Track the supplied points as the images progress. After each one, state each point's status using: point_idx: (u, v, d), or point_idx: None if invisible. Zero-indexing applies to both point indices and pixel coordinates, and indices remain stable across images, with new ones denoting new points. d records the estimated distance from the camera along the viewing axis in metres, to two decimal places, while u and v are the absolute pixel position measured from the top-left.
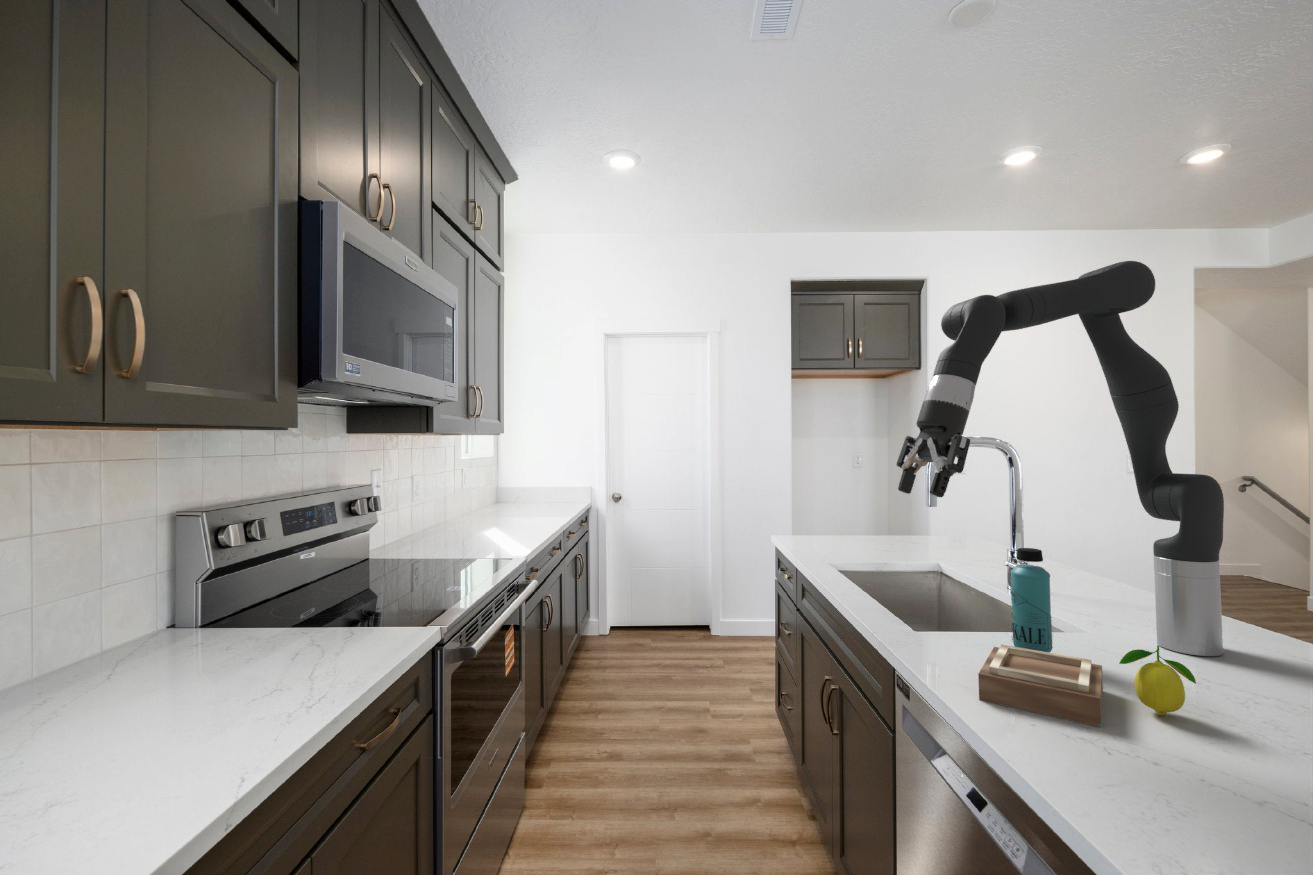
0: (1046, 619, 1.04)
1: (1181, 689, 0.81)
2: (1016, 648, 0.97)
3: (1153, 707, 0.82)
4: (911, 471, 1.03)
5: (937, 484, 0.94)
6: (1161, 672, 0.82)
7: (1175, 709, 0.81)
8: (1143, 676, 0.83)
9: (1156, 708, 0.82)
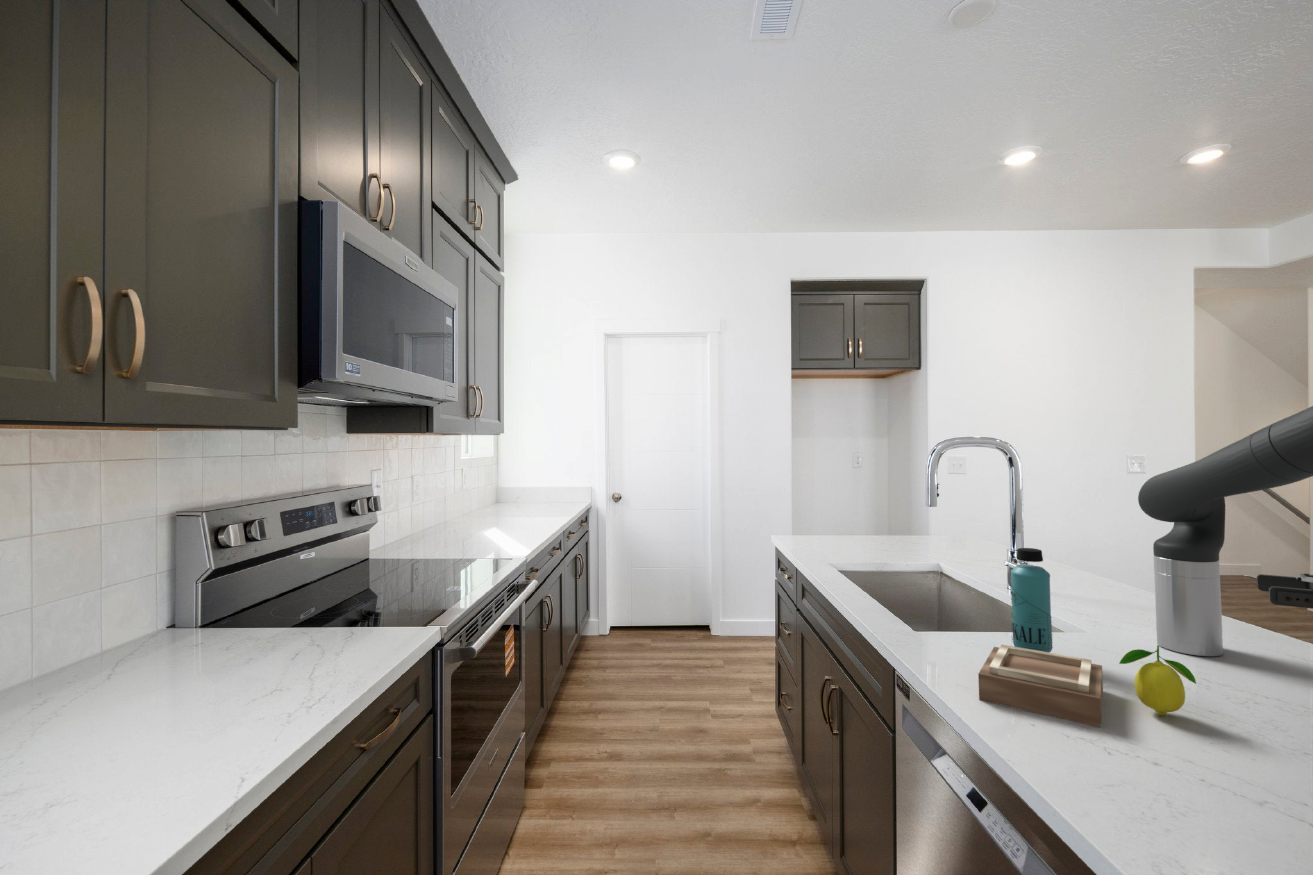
0: (1046, 619, 1.04)
1: (1181, 689, 0.81)
2: (1016, 648, 0.97)
3: (1153, 707, 0.82)
4: None
5: None
6: (1161, 671, 0.82)
7: (1175, 709, 0.81)
8: (1143, 676, 0.83)
9: (1156, 708, 0.82)
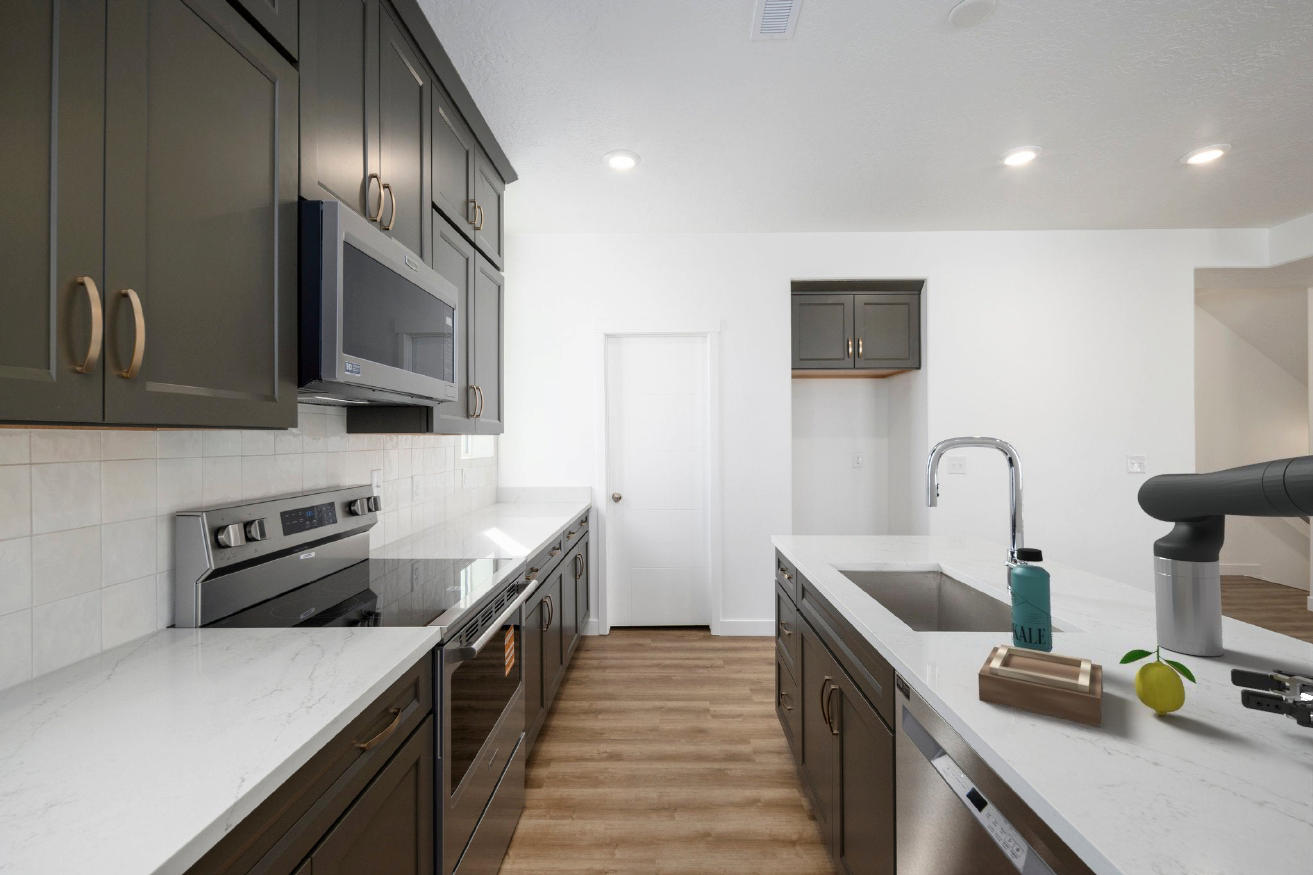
0: (1046, 619, 1.04)
1: (1181, 689, 0.81)
2: (1016, 648, 0.97)
3: (1153, 707, 0.82)
4: None
5: None
6: (1161, 672, 0.82)
7: (1175, 709, 0.81)
8: (1143, 676, 0.83)
9: (1156, 708, 0.82)
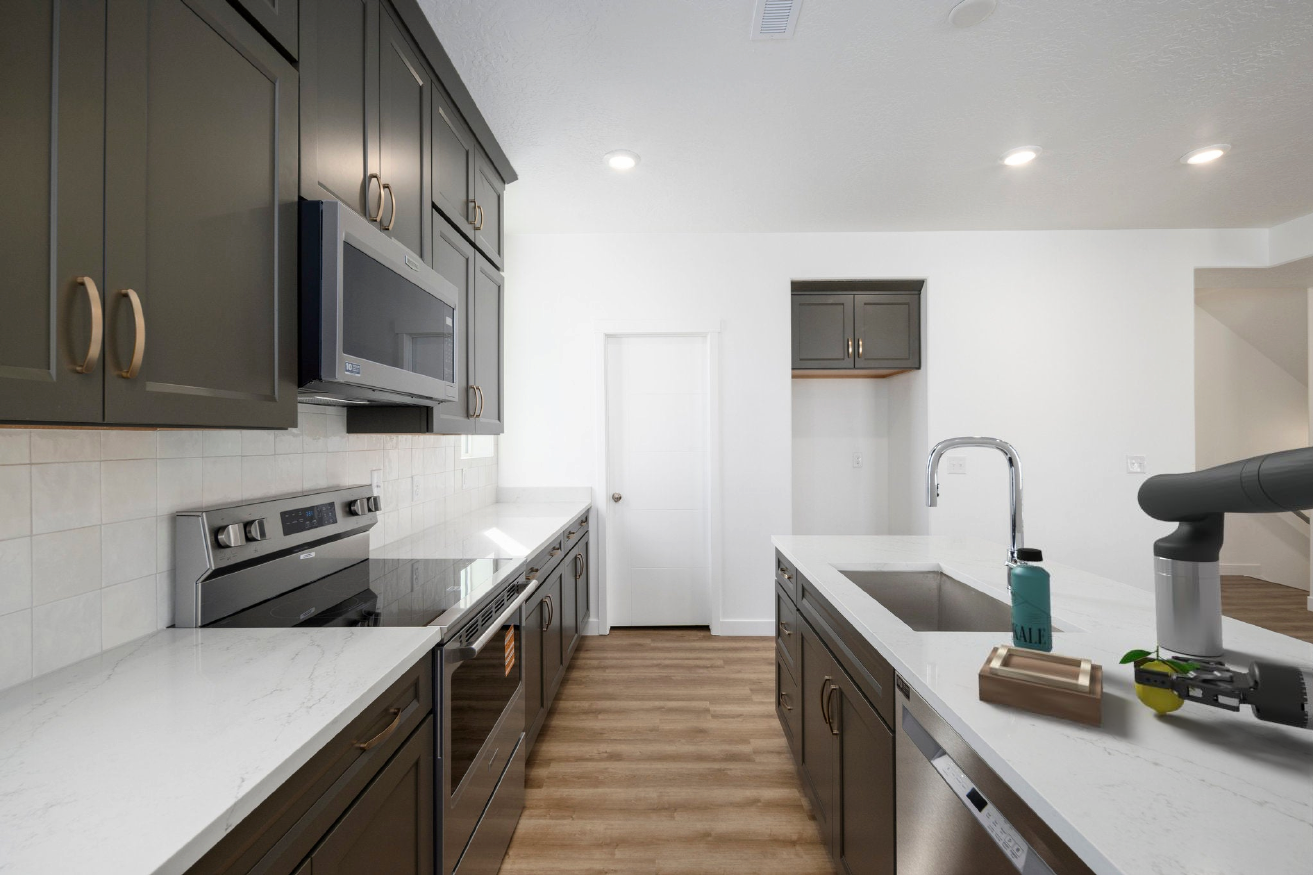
0: (1046, 619, 1.04)
1: None
2: (1016, 648, 0.97)
3: (1153, 707, 0.82)
4: None
5: None
6: None
7: (1175, 709, 0.81)
8: None
9: (1156, 708, 0.82)
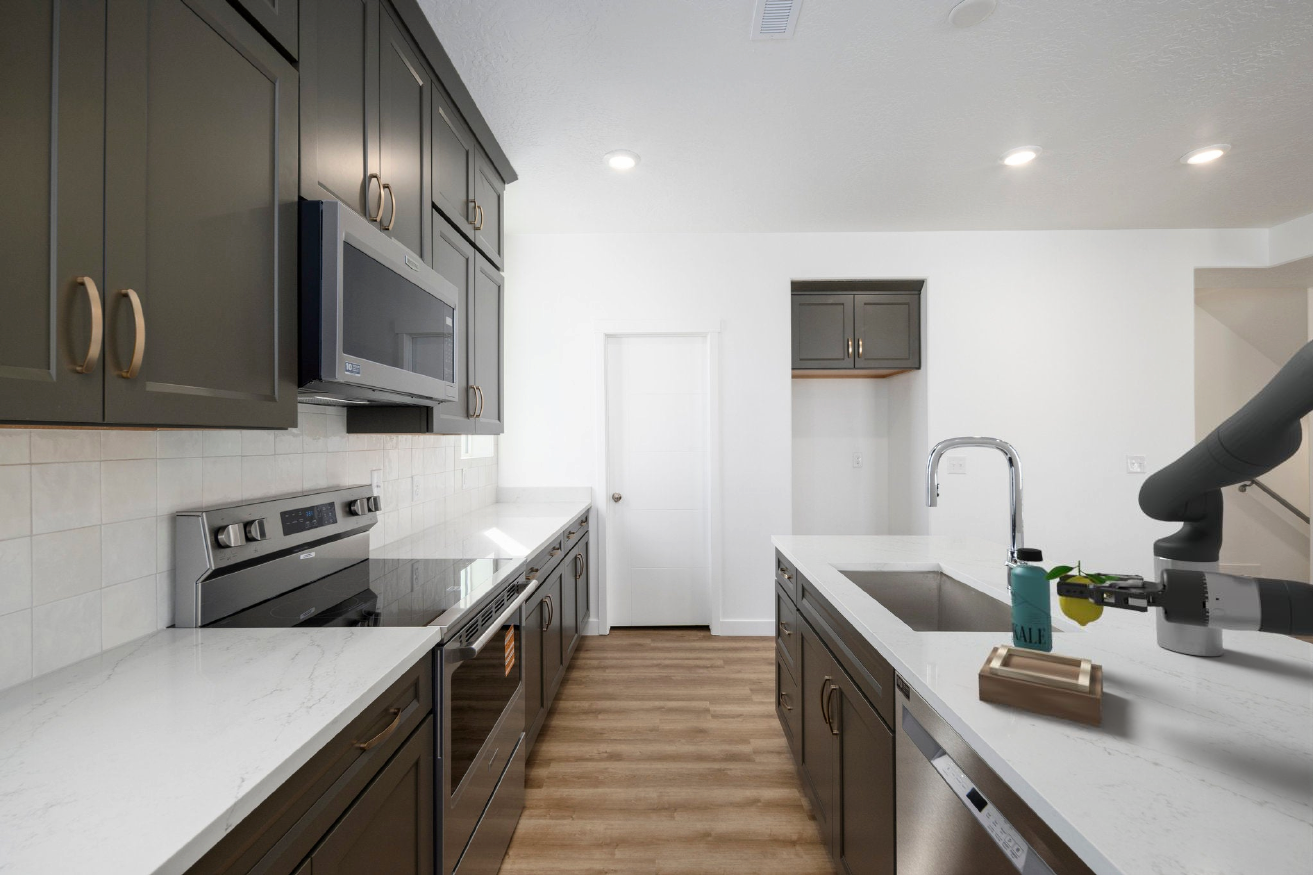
0: (1046, 619, 1.04)
1: None
2: (1016, 648, 0.97)
3: (1075, 618, 0.87)
4: None
5: None
6: None
7: (1094, 618, 0.85)
8: None
9: (1077, 619, 0.86)
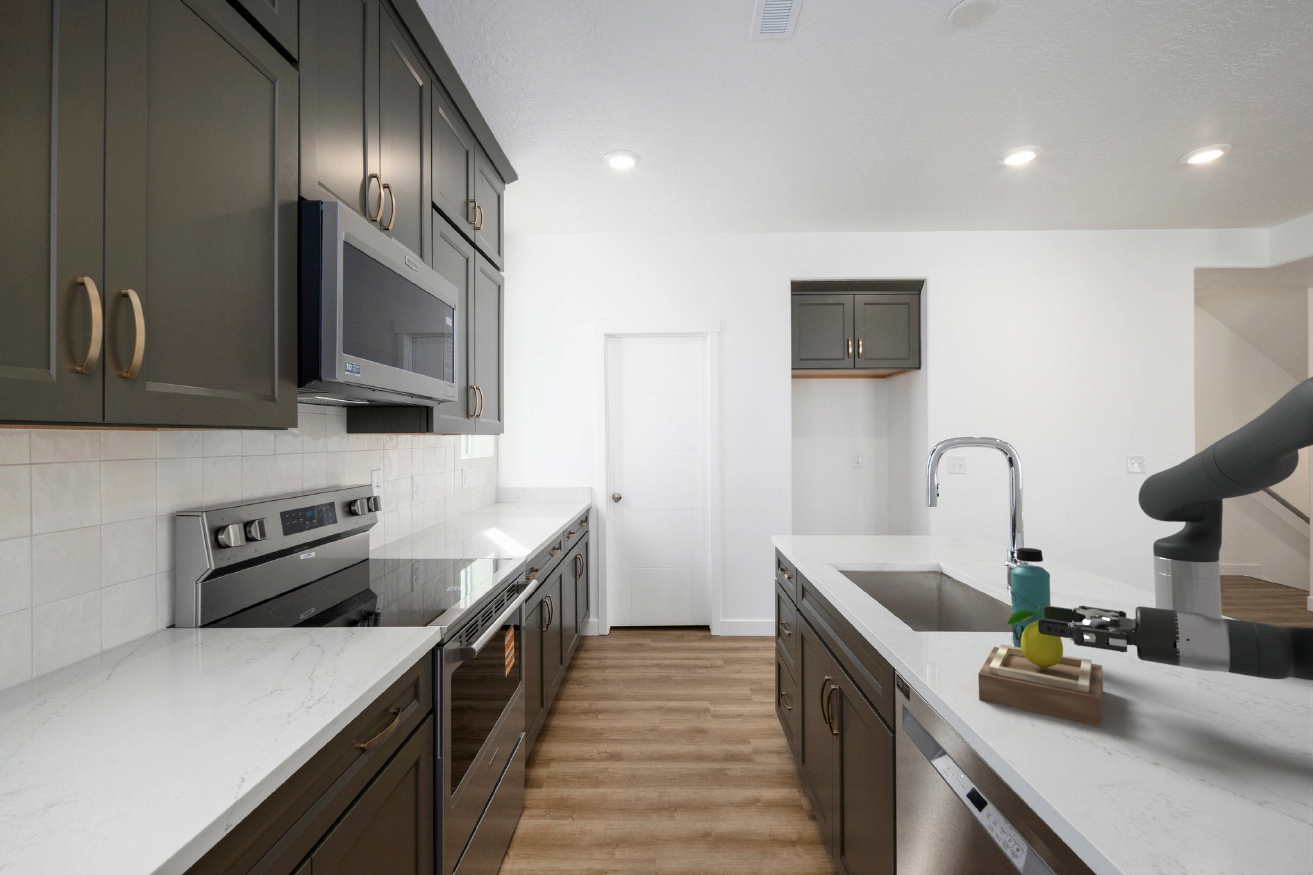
0: None
1: (1058, 644, 0.88)
2: (1016, 648, 0.97)
3: (1035, 662, 0.89)
4: None
5: None
6: None
7: (1054, 663, 0.88)
8: (1026, 634, 0.90)
9: (1038, 663, 0.89)
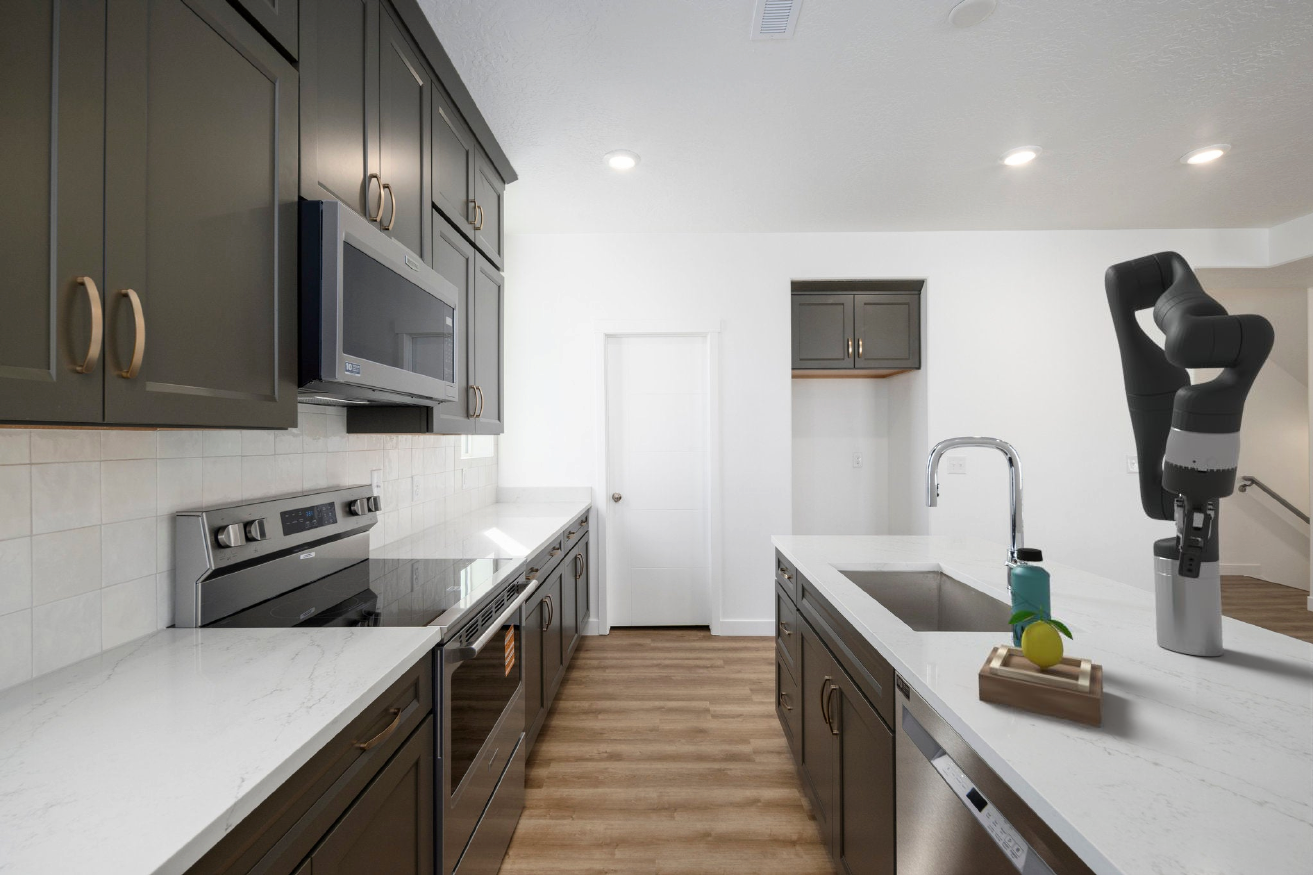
0: None
1: (1059, 644, 0.88)
2: (1016, 648, 0.97)
3: (1036, 662, 0.89)
4: None
5: None
6: (1042, 630, 0.89)
7: (1054, 663, 0.88)
8: (1027, 634, 0.90)
9: (1038, 663, 0.89)
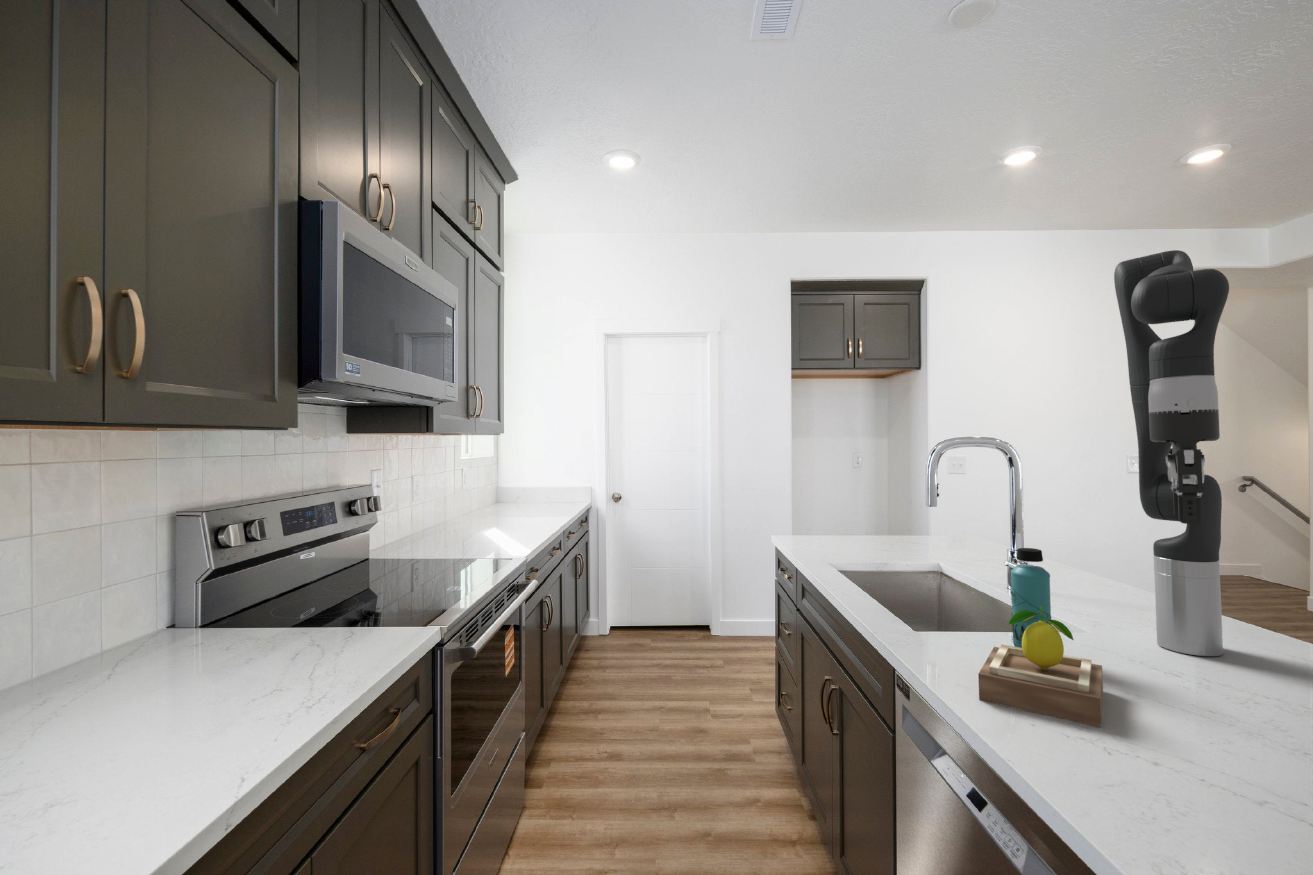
0: None
1: (1059, 645, 0.88)
2: (1016, 648, 0.97)
3: (1036, 662, 0.89)
4: None
5: None
6: (1042, 630, 0.89)
7: (1054, 664, 0.88)
8: (1028, 634, 0.90)
9: (1038, 663, 0.89)
